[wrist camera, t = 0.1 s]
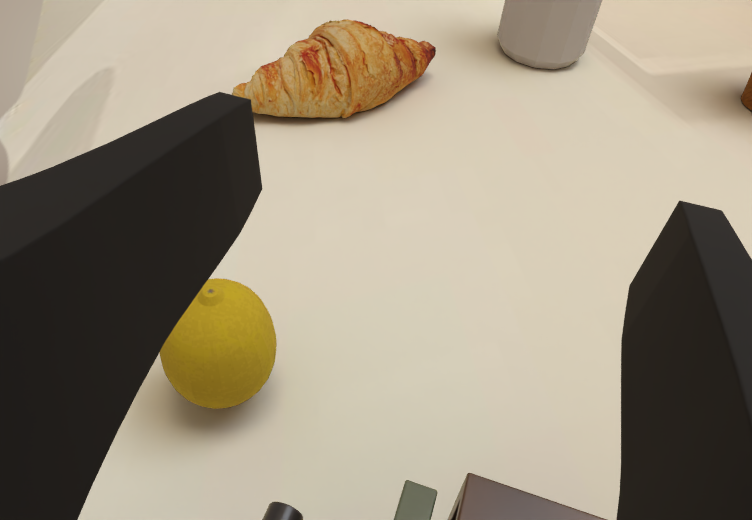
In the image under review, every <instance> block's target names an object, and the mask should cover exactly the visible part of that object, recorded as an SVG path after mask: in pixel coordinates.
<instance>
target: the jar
mask: <svg viewBox="0 0 752 520" xmlns="http://www.w3.org/2000/svg"><path fill="white" fill-rule="evenodd" d="M601 2H602V0H505V4H504V8H503V12H502V17H501V21H500V25H499V29H498V34H497V35H498V38H499V42H500V45H501V47H502V49H503V51H504V53H505V54H506V55H508V56H509V57H510V58H512V59H513V60H515V61H516V62H519V63H522V64H525V65H528V66H531V67H534V68H543V69H558V68H563V67H568V66H569V65H571V64H572V63H574V62H575V61H576V60H578V59H579V57H580V56H581V55H582V54H583V53H584V51H585V48H586V46H587V43H588V40H589V37H590V34H591V31H592V28H593V25H594V23H595V20H596V17H597V14H598V11H599V8H600V5H601Z"/></svg>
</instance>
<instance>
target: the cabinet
mask: <svg viewBox="0 0 752 520" xmlns="http://www.w3.org/2000/svg"><path fill="white" fill-rule="evenodd" d="M448 520H606V519H603V518H600V517H597V516H594V515H592V514H589V513H586V512H583V511H580V510H577V509H574V508H571V507H568V506H565V505H562V504H559V503H556V502H554V501H551V500H548V499H545V498H542V497H539V496H536V495H533V494H530V493H527V492H524V491H521V490H518V489H516V488H513V487H510V486H507V485H504V484H501V483H498V482H495V481H492V480H489V479H486V478H483V477H480V476H478V475H475V474H472V473H468V474H467V476H466V478H465V481H464V483H463V485H462V487H461V490H460V492H459V494H458V497H457V499H456V501H455V504H454V506H453V508H452V511H451V513H450V515H449V518H448Z"/></svg>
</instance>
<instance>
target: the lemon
mask: <svg viewBox="0 0 752 520" xmlns="http://www.w3.org/2000/svg"><path fill="white" fill-rule="evenodd" d="M275 355H276V334H275V330H274V326H273V322H272V319H271V316H270V314H269V312H268V310H267V309H266V307H265V305H264V304H263V302H262V300H261V299H260V298H259V297H258V296H257V295H256V294H255V293H254V292H253V291H252V290H251V289H249V288H248V287H246V286H244V285H242V284H240V283H238V282H235V281H231V280H227V279H208V280H207V282H206V283H205V284H204V286H203V287H202V289H201V290H200V291H199V293H198V294H197V296H196V297H195V299H194V300H193V301H192V303H191V304H190V306H189V307H188V308H187V310H186V311H185V313H184V314H183V316H182V317H181V318H180V320H179V321H178V323H177V324H176V326H175V327H174V329H173V330H172V332H171V334H170V335H169V337H168V338H167V340H166V341H165V343H164V345H163V346H162V348H161V350H160V357H161V361H162V365H163V369H164V372H165V374H166V376H167V377H168V379H169V381H170V382H171V384H172V385H173V387H174V388H175V390H176V391H177V392H179V393H180V394H181V395H182V396H183V397H185V398H186V399H187V400H189V401H190V402H192V403H195V404H197V405H199V406H203V407H208V408H214V409H217V408H228V407H232V406H236V405H239V404H240V403H242V402H244V401H246V400H248V399H250V398H251V397H252V396H253V395H255V394H256V393H257V392H258V391H259V390H260V389H261V388H262V386H263V385H264V384H265V382H266V381H267V379H268V378H269V375H270V373H271V370H272V368H273V365H274V362H275Z"/></svg>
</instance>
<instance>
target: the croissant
mask: <svg viewBox="0 0 752 520" xmlns="http://www.w3.org/2000/svg"><path fill="white" fill-rule="evenodd" d="M435 52H436V50H435V47H434V46H432V45H431V44H430V43H429V42H425V41H422V42H420V43H418V42H417V41H415V40H413V39H408V38H402V37H395V36H393V35H392V34H388V33H386V32H383V31H378V30H377V29H376V28H375V27H371V25H368V24H364V23H363V22H358V21H351V20H342V21H329V22H326V23H324V24H322V25H321V26H319V27H317V28H316V29H315V30H314V31H313V33H312V34H311V35H310V36H309V38H308V39H305V40H301V41H298V42H296V43H295V44H293V45H291V46H290V47H289V49H288V50H287V52H286V53H285V55H284V57H282V58H279V59H278V60H277V61H275V62H272V63H269V64H266V65H264V66H261V67H260V68H259V69H258V70H257V71H256V72H255V74H254V75H253V76H252V79H251V81H250V82H247V83H242V84H239V85H238V86H236V87H235V88H234V89H233V93H232V95H234V96H238V97H243V98H247V99H251V104H252V112H255V113H258V114H268V115H273V116H282V117H309V118H315V117H323V118H326V117H340V116H342V117H343V118H346V117H349V116H351V115H352V114H353V113H355V112H360V111H365V110H368V109H371V108H374V107H375V106H377V105H380V104H382V103H385V102H386V101H388V100H389V99H391V98H392V97H393V96H394V95H395V94H396V93H397V92H399V91H401V90H402V89H403V88H404V87H405V86H407V85H408V84H410V83H411V82H413V81H414V80H416V79H418V78H419V77H420V76H421V75H422V74H423V73H424V71H425V70H426V68H427V66H428V65H429V63H430V61H431V60H432V59H433V57H434V56H435Z"/></svg>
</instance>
